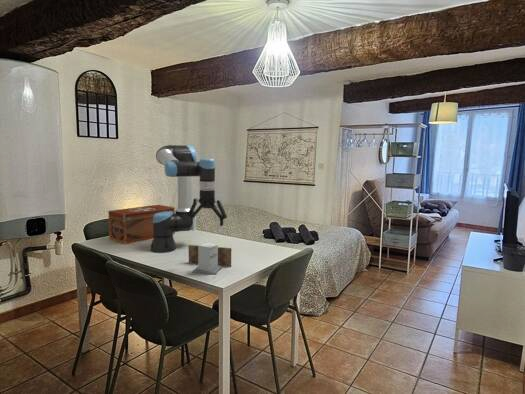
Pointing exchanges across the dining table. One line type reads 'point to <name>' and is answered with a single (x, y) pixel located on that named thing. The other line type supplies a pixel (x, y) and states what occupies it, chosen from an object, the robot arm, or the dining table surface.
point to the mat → (207, 271)
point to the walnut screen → (223, 255)
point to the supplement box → (208, 256)
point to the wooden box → (134, 223)
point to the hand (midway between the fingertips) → (207, 231)
